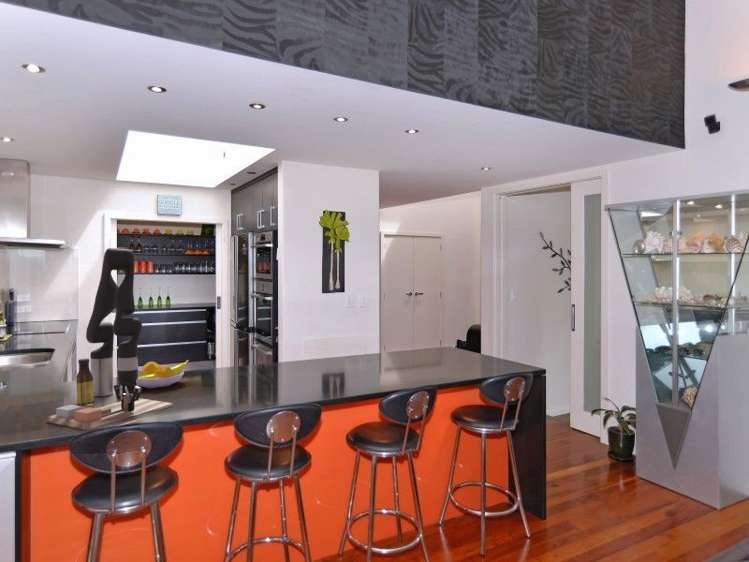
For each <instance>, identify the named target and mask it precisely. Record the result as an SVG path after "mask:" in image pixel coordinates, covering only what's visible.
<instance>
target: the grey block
mask: <svg viewBox="0 0 749 562" xmlns="http://www.w3.org/2000/svg"><path fill="white" fill-rule="evenodd" d="M85 406H86V408H89V407H91V408H95V404H94V403H93V404H86V405H85ZM83 407H84V406H83V405H78V404H77V405H76V404H68V405H64V406H61V407H57V408H56V409H55V410H56V411H55V414H56V417H59V418H65V419H71V418H75V411H78V410H81V409H83Z"/></svg>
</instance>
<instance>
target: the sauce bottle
mask: <svg viewBox="0 0 749 562" xmlns="http://www.w3.org/2000/svg"><path fill="white" fill-rule="evenodd" d="M77 362H78V372H77V374H76V376H75V377H76V378H75V379H76V399H77V400H76V401H77V406H86V404H94V402H95V397H94V389H93V377H92V374H91V369H90V358H78V361H77Z"/></svg>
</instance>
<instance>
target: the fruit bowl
mask: <svg viewBox="0 0 749 562" xmlns="http://www.w3.org/2000/svg"><path fill="white" fill-rule="evenodd" d="M189 361H190V360H189V359H187V360H186V361H185V362H182V363H181V362H180V363H179V364H177V365H172V366H171V367H169V366H168V365H160V364H159V363H157V362H155V361H148V362H147V363H145V364H144V365H143V366H142V368H141V369H140V370H138V379H137V380H136V383H137V386H138V387H142V388H146V389H156V388H157V387H158V388H163V387H166V386H167V387H170V386H171V385H173V384H175V383H177V382H179V381H181V380H182V378H183V376H184V373H185V370H184V369H185V367H186V366H187V364H189ZM158 388H157V389H158Z"/></svg>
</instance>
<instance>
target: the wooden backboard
mask: <svg viewBox="0 0 749 562" xmlns="http://www.w3.org/2000/svg"><path fill="white" fill-rule="evenodd" d="M172 406H174V405H173V403H172V402H166V401H159V400H155V399H146V398H140V397H139V400H137V401H135V402H134V411H132V412H128V411H126V412H124V411H122V412H119V413H116V414H112V415H109V416H106V417H102V419H99V420H96V421H93V422H89V423H86V422H80V421H75V418H71V419H65V418H59V417H56V413H55V414H51V415H48V416H46V420H47V421H46V422H47V423H50V424H54V425H55V424H56V425H59V426H67V427H70V428H75V429H80V430H85V431H89V430H93V429H96V428H99V427H102V426H105V425H109V424H112V423H115V422H118V421H121V420H122V421H123V420H125V419H127V418H131V417H135V416H137V415H140V414H143V413H146V412H151V411H153V410H154V411H160V410H164V409H167V408H169V407H172ZM82 407H83V409H85V408H86V405H84V406H82ZM97 409H102V415H104V414H108V413H111V412H115V411H118V410H121V401H117V402H114V403H110V404H107V405H104V406H100V407H97Z"/></svg>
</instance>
